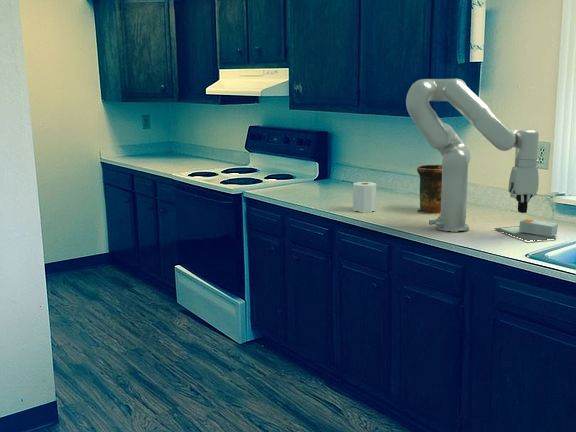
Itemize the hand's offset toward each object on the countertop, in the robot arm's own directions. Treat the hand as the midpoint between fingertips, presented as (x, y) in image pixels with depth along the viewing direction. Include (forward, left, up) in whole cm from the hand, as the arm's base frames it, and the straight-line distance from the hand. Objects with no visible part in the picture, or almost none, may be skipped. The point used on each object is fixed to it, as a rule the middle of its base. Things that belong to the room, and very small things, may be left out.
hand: (522, 212), depth 234 cm
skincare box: (+1, +1, -5) cm, 6 cm away
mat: (0, -2, -8) cm, 8 cm away
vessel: (-12, +45, -8) cm, 47 cm away
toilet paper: (-39, +57, -8) cm, 69 cm away
